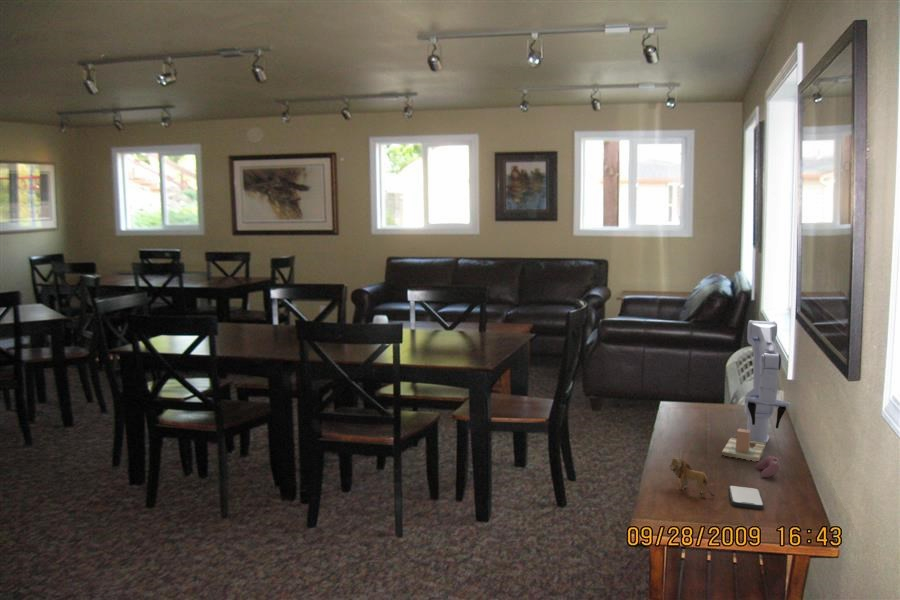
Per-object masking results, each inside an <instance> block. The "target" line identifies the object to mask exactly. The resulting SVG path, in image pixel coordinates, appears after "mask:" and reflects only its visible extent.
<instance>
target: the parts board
mask: <svg viewBox="0 0 900 600" xmlns="http://www.w3.org/2000/svg"><path fill="white" fill-rule="evenodd" d="M736 438H737V437H736ZM736 438H734V437H730V438H729V439H728V441H727V443H726V444H725V447H724V448H723V449H722V451H721V456H722V455H726V456H731V457H736V458H735V459H737V458H742V459H741V460H743V459H746V460H745V461H750V460H752V461H751V462H756V461H759V462H760V460H761V458H762V456H763V454H764V451H765V449H766V444H767V443H763V442H756V441H750V448H749V452H748V453H745V452H739V451H736ZM731 457H730V458H731Z"/></svg>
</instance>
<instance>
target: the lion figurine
mask: <svg viewBox="0 0 900 600" xmlns="http://www.w3.org/2000/svg"><path fill="white" fill-rule="evenodd" d="M669 469H670V472H673V474H675V475H676V478H678V479H680V484H681V485H680V486H679V487H678V489H679V491H683V490H684V489H685V488H688V483H689V482H691V483H693V484H694V483H697V486H698V488H699V490H700V494H701V498H703V499H704V498H707V492H708V494H709V495H710V496H711V497H712V498H713V497H716V495H715V494H714V493H712V492H711V491H710V486H709V481H708V476H707V475H706V473H705V472H702V471H697V470H694V469H692V467H691V466H690V464H688V463H687V462H686V461H685V460H684V459H682V458H679V457H673V458H671V462H670V465H669ZM706 488H707V489H706Z"/></svg>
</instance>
